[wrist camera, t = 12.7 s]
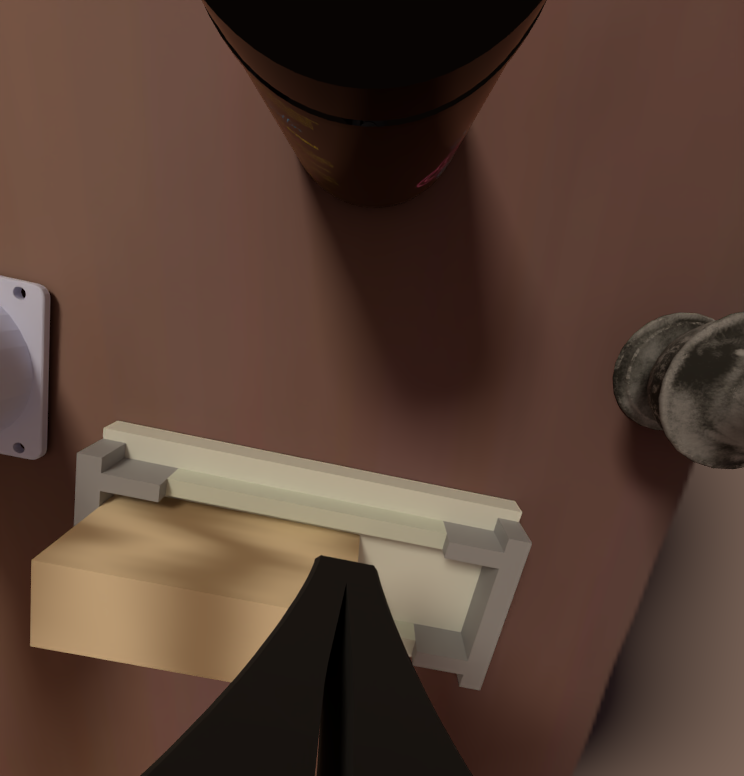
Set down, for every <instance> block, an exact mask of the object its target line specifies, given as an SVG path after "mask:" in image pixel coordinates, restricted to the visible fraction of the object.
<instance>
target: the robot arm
mask: <svg viewBox="0 0 744 776" xmlns="http://www.w3.org/2000/svg"><path fill="white" fill-rule="evenodd" d="M22 288H23V289H24V290H25V292H26V296H25V298H24V297H23V296H22V293H21V290H22ZM49 340H50V293H49V291H48V290H47V288H45V287H44V286H43V285H41V284H38V283H33V282H28V281H24V280H19V279H14V278H10V277H5V276H0V454H4V455H9V456H14V457H20V458H25V459H30V460H35V459H38V458H40V457H42V456H44V455H45V454H46V451H47V426H48V383H49ZM20 443H21V444H22V445H23V446H24V449H23V448H22V447H21V445H20ZM319 728H320V733H319ZM318 737H319V749H318V765H317V776H473V775H472V774H471V772H470V770H469V769H468V767H467V765H466V764H465V762H464V761H463V759H462V757H461V756H460V754H459V752H458V750H457V749H456V747H455V745H454V743H453V742H452V740H451V738H450V736H449V735H448V733H447V731H446V729H445V728H444V726H443V724H442V722H441V720H440V719H439V717H438V715H437V713H436V711H435V709H434V707H433V705H432V703H431V701H430V700H429V698H428V696H427V694H426V692H425V689H424V687H423V685H422V683H421V681H420V679H419V677H418V675H417V673H416V671H415V669H414V667H413V664H412V662H411V660H410V658H409V656H408V653H407V651H406V649H405V646H404V644H403V642H402V639H401V637H400V634H399V632H398V630H397V627H396V625H395V622H394V620H393V617H392V614H391V612H390V609H389V606H388V603H387V601H386V598H385V595H384V592H383V589H382V585H381V582H380V579H379V575H378V571H377V569H376V568H375V566H374V565H369V564H364V563H359V562H354V561H349V560H344V559H338V558H333V557H328V556H323V555H320V556H319V557H317V558H315V560H314V564H313V566H312V568H311V571H310V573H309V575H308V577H307V579H306V581H305V582H304V584H303V586H302V588H301V589H300V591H299V593H298V594H297V596H296V598H295V599H294V601H293V602H292V604H291V605H290V607H289V608H288V610H287V611H286V613H285V614H284V616H283V617H282V619H281V620H280V622H279V623H278V624H277V626H276V627H275V629H274V630H273V631H272V633H271V634H270V635H269V636H268V638H267V639H266V640H265V642H264V643H263V644H262V645H261V647H260V648H259V649H258V651H257V652H256V653H255V655H254V656H253V657H252V658H251V660H250V661H249V662H248V663H247V665H246V666H245V667H244V668H243V669H242V671H241V672H240V673H239V674H238V675H237V676H236V678H235V679H234V680H233V681H232V682H231V683H230V685H229V686H228V687H227V688H226V689H225V690H224V691H223V692H222V694H221V695H220V696H219V697H218V698H217V699H216V700H215V701H214V702H213V704H212V705H211V706H210V707H209V708H208V709H207V710H206V711H205V712H204V713H203V714H202V715H201V716H200V717H199V718H198V719H197V720H196V721H195V722H194V723H193V724H192V725H191V726H190V728H189V729H188V730H187V731H186V732H185V733H184V734H183V735H182V736H181V737H180V738H179V739H178V740H177V741H176V742H175V743H174V744H173V745H172V746H171V747H170V748H169V749H168V750H167V751H166V752H165V753H164V754H163V755H162V756H161V757H160V758H159V759H158V760H157V761H156V762H155V763H153V764H152V765H151V766H150V767H149V768H148V769H147V770H146V771H145V772H144V773H143V774H142V775H141V776H315V767H316V757H317V747H318Z"/></svg>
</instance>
